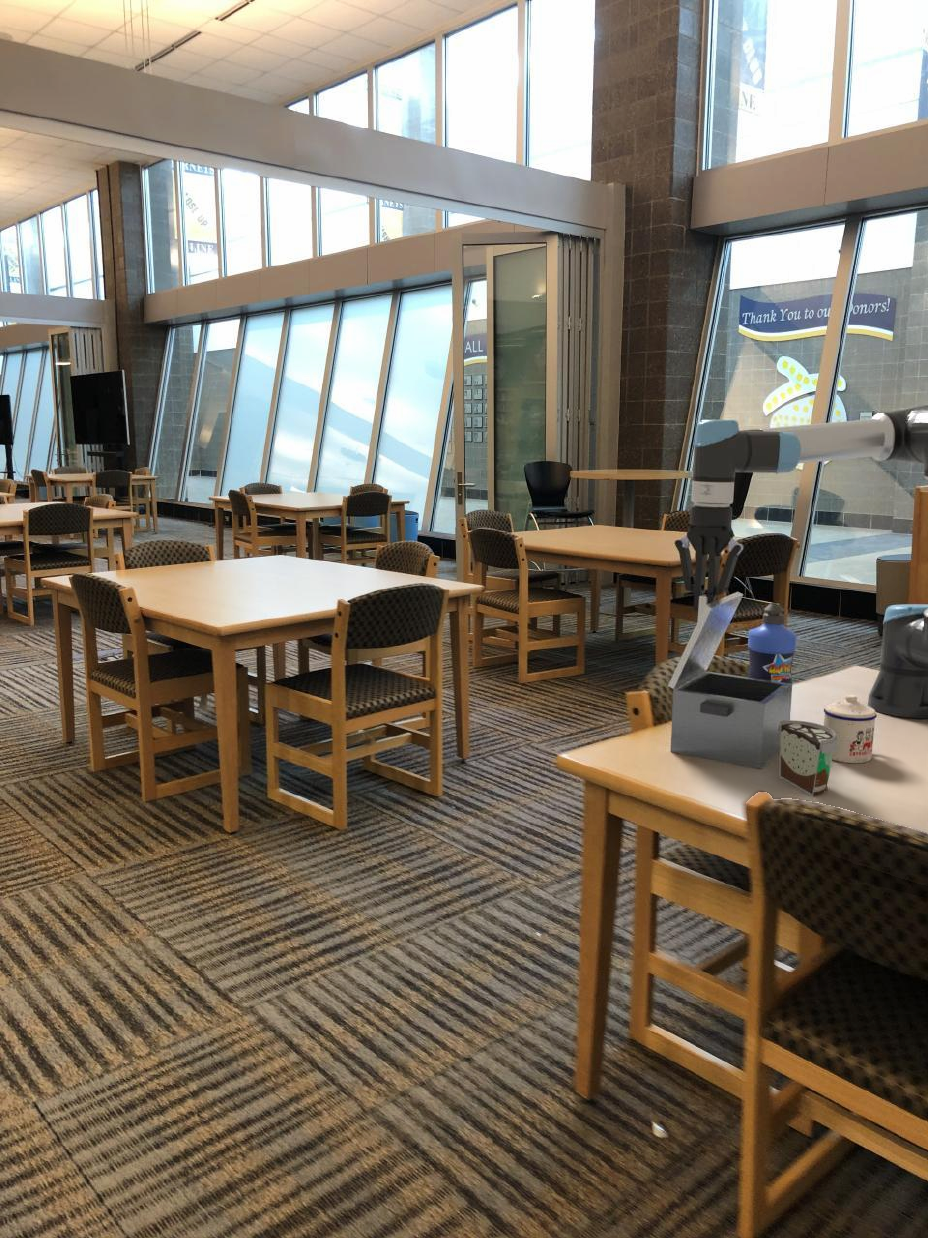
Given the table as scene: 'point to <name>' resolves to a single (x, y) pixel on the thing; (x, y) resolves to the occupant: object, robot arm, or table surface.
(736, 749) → the grey storage box
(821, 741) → the food container
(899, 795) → the table surface
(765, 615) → the water bottle
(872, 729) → the teacup with lid
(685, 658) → the grey box lid
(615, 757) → the table surface
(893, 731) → the table surface
